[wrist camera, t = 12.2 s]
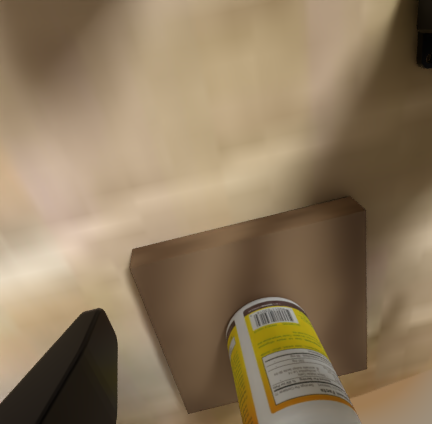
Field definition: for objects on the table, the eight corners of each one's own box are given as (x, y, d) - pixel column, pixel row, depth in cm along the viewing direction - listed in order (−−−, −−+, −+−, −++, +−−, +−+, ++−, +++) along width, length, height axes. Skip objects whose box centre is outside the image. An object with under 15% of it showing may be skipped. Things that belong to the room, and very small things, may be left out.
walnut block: (350, 196, 22) (366, 210, 20) (354, 348, 29) (366, 368, 27) (132, 249, 22) (129, 268, 20) (186, 390, 29) (188, 413, 27)
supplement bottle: (259, 366, 25) (311, 552, 16) (207, 328, 23) (232, 519, 14) (322, 321, 24) (415, 495, 15) (273, 277, 22) (348, 450, 13)
